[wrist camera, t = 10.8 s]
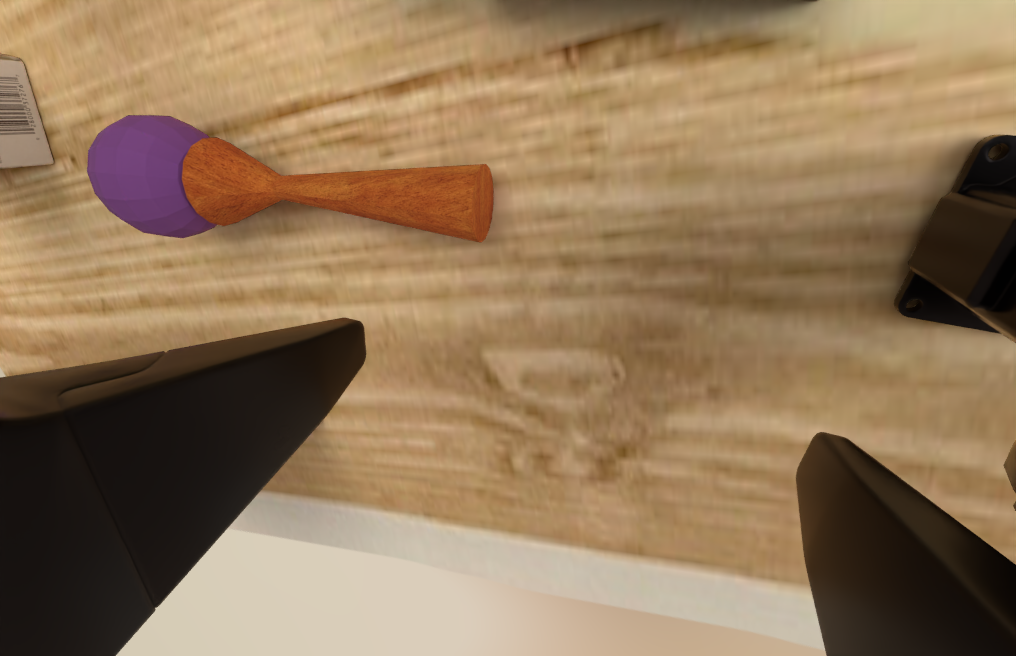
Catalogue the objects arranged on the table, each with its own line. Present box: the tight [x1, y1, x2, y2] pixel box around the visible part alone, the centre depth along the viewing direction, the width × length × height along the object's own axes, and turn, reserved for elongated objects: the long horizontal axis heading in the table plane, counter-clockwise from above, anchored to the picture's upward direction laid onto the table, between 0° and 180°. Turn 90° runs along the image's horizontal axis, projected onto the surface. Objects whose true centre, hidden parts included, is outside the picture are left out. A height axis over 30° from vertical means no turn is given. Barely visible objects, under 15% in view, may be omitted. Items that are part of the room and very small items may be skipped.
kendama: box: [87, 115, 493, 242], centre depth 22 cm, size 6×6×20 cm
